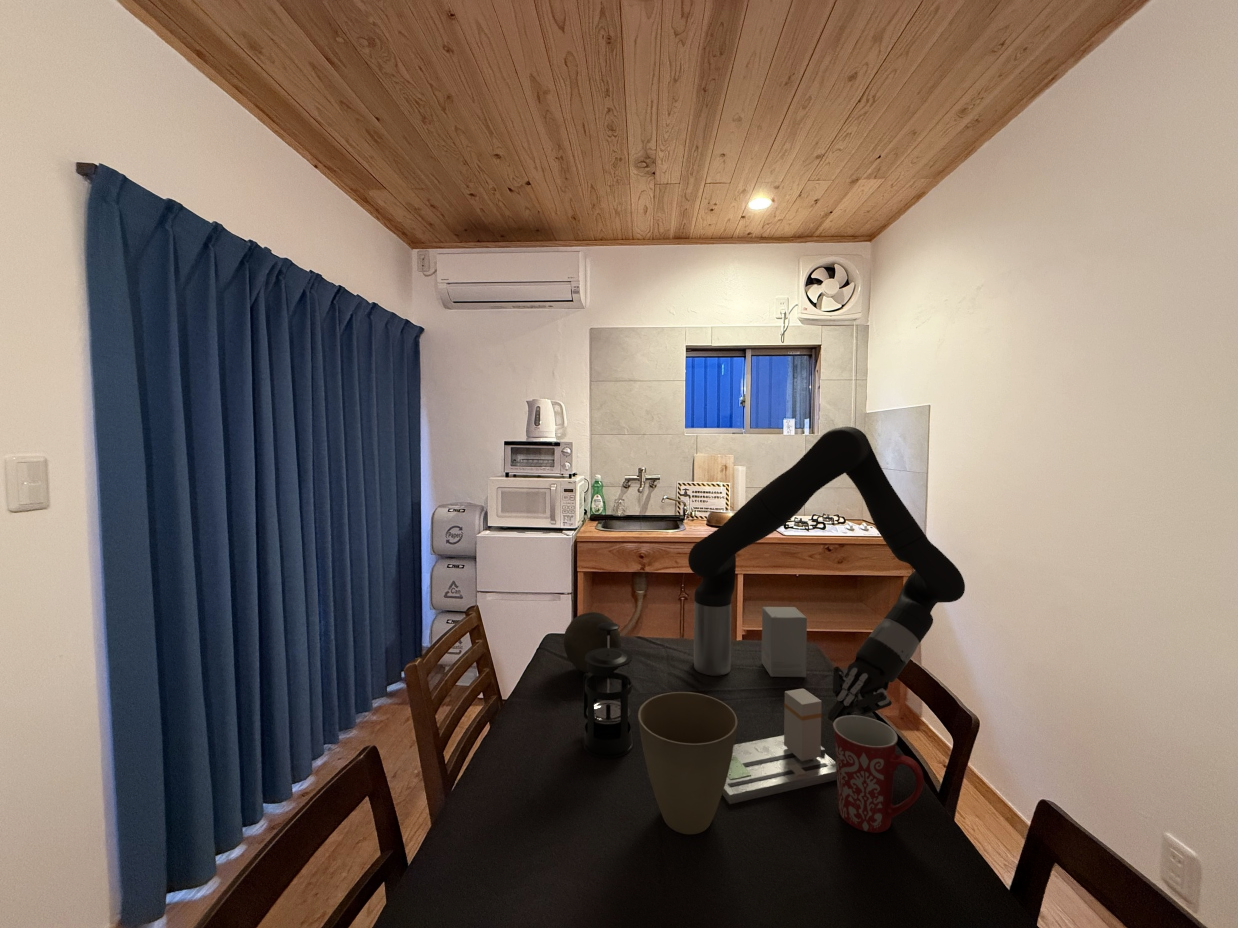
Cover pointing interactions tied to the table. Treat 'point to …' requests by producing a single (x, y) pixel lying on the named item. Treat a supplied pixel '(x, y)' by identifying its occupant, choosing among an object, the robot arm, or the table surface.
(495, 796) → the table surface
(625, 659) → the french press
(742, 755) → the console
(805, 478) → the robot arm
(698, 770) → the plant pot
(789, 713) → the fader knob
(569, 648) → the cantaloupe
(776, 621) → the supplement box
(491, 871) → the table surface
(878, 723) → the mug
